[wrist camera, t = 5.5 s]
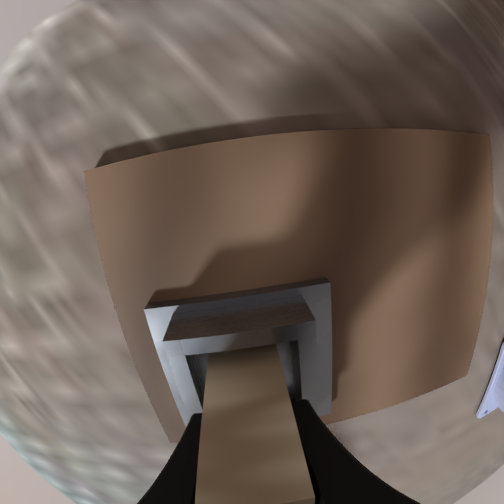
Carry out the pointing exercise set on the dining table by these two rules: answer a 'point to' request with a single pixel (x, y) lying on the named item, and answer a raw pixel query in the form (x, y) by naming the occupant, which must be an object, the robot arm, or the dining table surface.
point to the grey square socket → (247, 338)
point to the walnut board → (311, 247)
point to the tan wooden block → (249, 433)
